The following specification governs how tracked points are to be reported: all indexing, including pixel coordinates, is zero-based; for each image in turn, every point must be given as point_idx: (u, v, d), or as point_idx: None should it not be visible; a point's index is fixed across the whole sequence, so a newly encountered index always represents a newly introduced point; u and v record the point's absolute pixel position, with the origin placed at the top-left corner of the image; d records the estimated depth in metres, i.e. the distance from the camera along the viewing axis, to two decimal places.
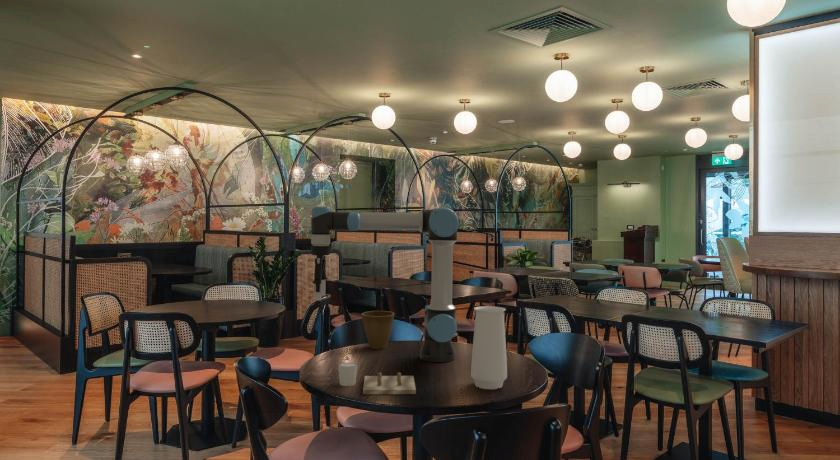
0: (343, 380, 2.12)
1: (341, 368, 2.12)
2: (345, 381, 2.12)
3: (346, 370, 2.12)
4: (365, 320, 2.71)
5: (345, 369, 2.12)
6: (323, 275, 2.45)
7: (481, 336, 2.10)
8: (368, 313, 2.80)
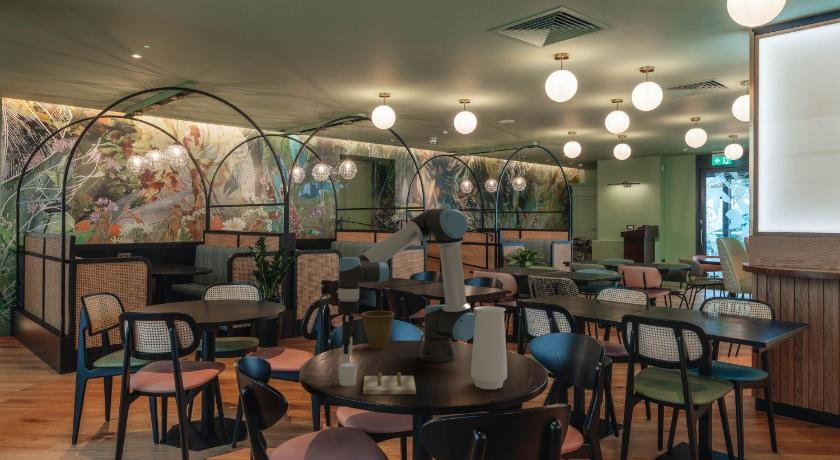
0: (343, 380, 2.12)
1: (341, 368, 2.12)
2: (345, 381, 2.12)
3: (346, 370, 2.12)
4: (365, 320, 2.71)
5: (345, 369, 2.12)
6: (350, 332, 2.21)
7: (481, 336, 2.10)
8: (368, 313, 2.80)
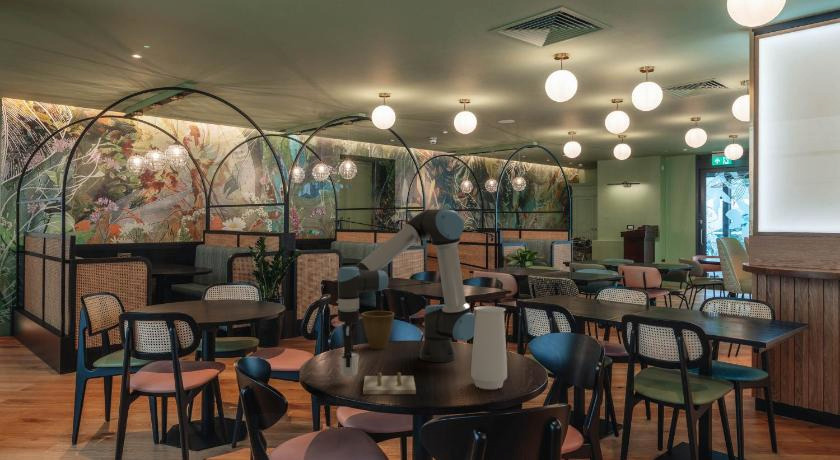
0: None
1: (342, 358, 2.13)
2: None
3: None
4: (365, 320, 2.71)
5: None
6: (351, 346, 2.19)
7: (481, 336, 2.10)
8: (368, 313, 2.80)
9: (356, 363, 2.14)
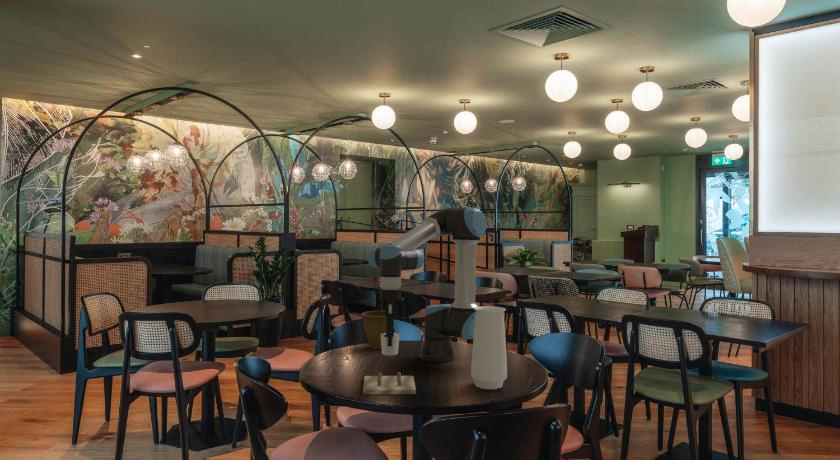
0: None
1: (384, 337, 2.09)
2: None
3: None
4: (365, 320, 2.71)
5: None
6: None
7: (481, 336, 2.10)
8: (368, 313, 2.80)
9: (397, 342, 2.10)
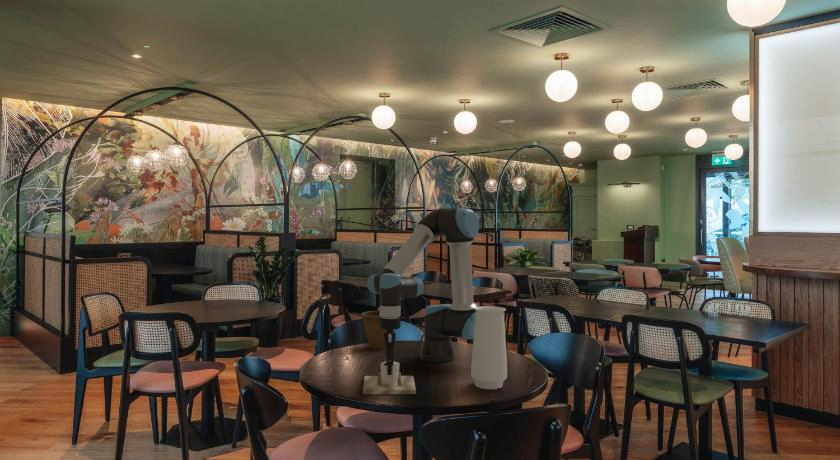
0: None
1: (383, 366, 2.09)
2: None
3: None
4: (365, 320, 2.71)
5: None
6: None
7: (481, 336, 2.10)
8: (368, 313, 2.80)
9: (397, 372, 2.11)
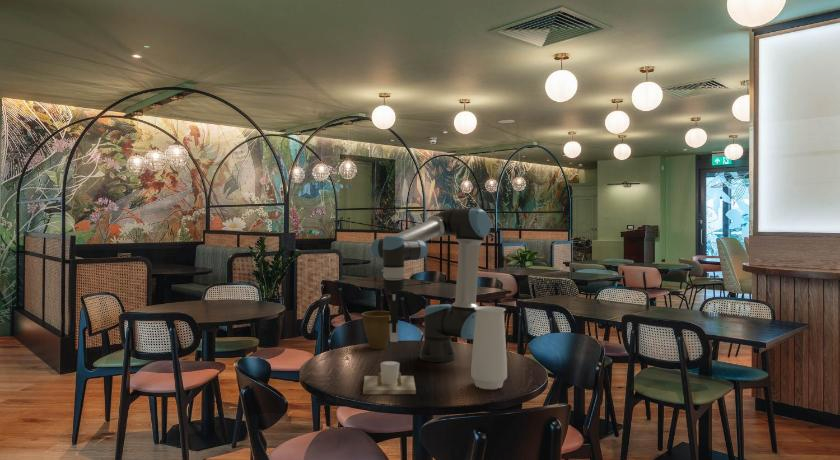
0: (386, 378, 2.09)
1: (384, 366, 2.09)
2: (388, 380, 2.09)
3: (389, 368, 2.09)
4: (365, 320, 2.71)
5: (388, 367, 2.09)
6: None
7: (481, 336, 2.10)
8: (368, 313, 2.80)
9: (397, 372, 2.11)
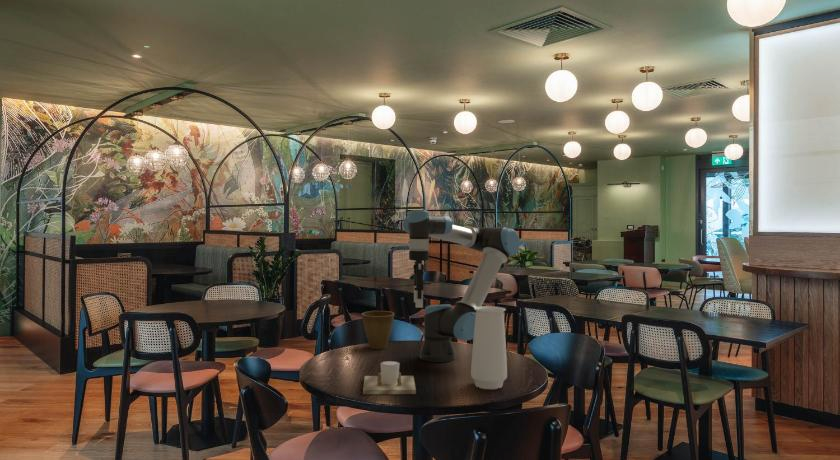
0: (386, 378, 2.09)
1: (384, 366, 2.09)
2: (388, 380, 2.09)
3: (389, 368, 2.09)
4: (365, 320, 2.71)
5: (388, 367, 2.09)
6: None
7: (481, 336, 2.10)
8: (368, 313, 2.80)
9: (397, 372, 2.11)
